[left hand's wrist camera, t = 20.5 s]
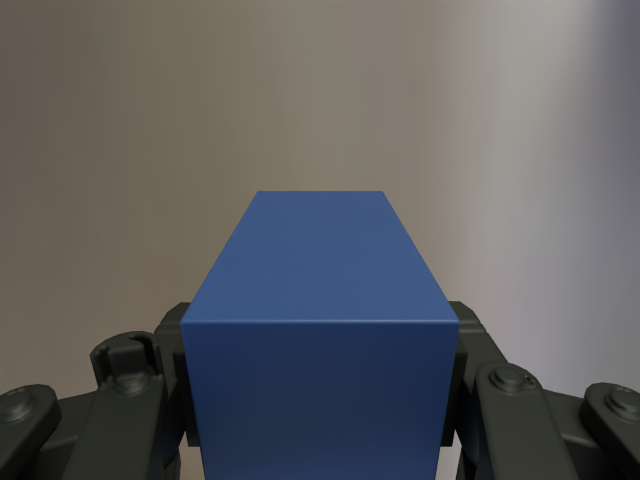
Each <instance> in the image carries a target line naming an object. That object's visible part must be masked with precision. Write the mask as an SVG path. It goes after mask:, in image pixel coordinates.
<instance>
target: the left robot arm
mask: <svg viewBox="0 0 640 480" xmlns="http://www.w3.org/2000/svg"><path fill="white" fill-rule="evenodd" d="M448 302H449V304H450V305H451V307H452V309H453V310H454V312H455V314H456V315H457V317H458V319H459V321H460V327H459V333H458V339H457V346H456V352H455V358H454V364H453V371H452V377H451V383H450V389H449V396H448V402H447V408H446V414H445V421H444V427H443V433H442V439H441V446H440V447H452V444H453V438H454V432H455V430H456V432H457V435H458V437H459V440H460V442H461V445H462V448H461V453H460V458H459V463H458V469H457V474H456V480H640V393H638V392H636V391H634V390H632V389H629V388H627V387H623V386H620V385H617V384H611V383H603V382H602V383H596V384H592V385H590V386H589V387H588V388H587V389H586V391H585V394H584V397H583V398H579V397H574V396H570V395H565V394H561V393H556V392H552V391H549V390H546V389H543V388H542V386H541V384H540V383H539V381H538V380H537V378H536V377H534V376H533V375H532V374H531V373H529V372H528V371H527V370H525V369H523V368H521V367H519V366H517V365H515V364H511V363H508V361H507V360H506V359H505V357H504V356H503V354H502V353H501V351H500V350H499V348H498V347H497V345H496V344H495V342H494V341H493V339H492V338H491V336H490V335H489V334H488V333H487V332H486V329H485V328H484V326H483V325H482V324H480V320H479V319H478V317H477V316H476V314H475V313H474V312H473V310H471V309H470V308H468V307H467V306H466V305H464V304H463V303H461V302H460V301H448ZM190 304H191V303H179V304H178V305H177V306H175V307H174V308H172V309H171V310H170V311H168V312H167V313H166V315H165V316H164V318H163V319H162V321H161V322H160V325H158V327H157V328H156V330H155V331H154V334H152V333H148V332H145V331H131V332H127V333H122V334H118V335H116V336H114V337H111V338H109V339H106V340H105V341H103V342H102V343H101V344H99V345H98V346H96V347H95V348H94V350H93V351H92V352H91V353H90V359H91V362H92V366H93V370H94V373H95V377H96V381H97V384H98V389H97V391H93V392H90V393H87V394H82V395H78V396H73V397H69V398H64V399H60V400H58V399H57V396H56V393H55V391H54V390H53V389H52V388H51V387H50V386H47V385H41V384H35V385H27V386H23V387H19V388H17V389H13V390H10V391H8V392H6V393H4V394H3V395H1V396H0V480H179V478H180V468H181V459H180V453H179V448H178V447H179V445H180V442H181V440H182V437H183V435H184V432H185V431H186V436H187V442H188V447H200V444H199V438H198V432H197V425H196V419H195V413H194V406H193V400H192V394H191V387H190V381H189V375H188V368H187V362H186V356H185V350H184V343H183V337H182V331H181V324H180V322H181V319H182V317H183V316H184V314H185V312H186V311H187V309H188V307H189V306H190Z"/></svg>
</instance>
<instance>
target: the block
mask: <svg viewBox="0 0 640 480" xmlns="http://www.w3.org/2000/svg"><path fill="white" fill-rule="evenodd" d="M180 324H181V331H182V337H183V343H184V350H185V356H186V362H187V368H188V375H189V381H190V387H191V394H192V400H193V406H194V413H195V419H196V425H197V432H198V438H199V444H200V451H201V457H202V463H203V469H204V476H205V480H435V477H436V471H437V464H438V458H439V452H440V446H441V439H442V433H443V427H444V421H445V414H446V408H447V402H448V396H449V389H450V383H451V377H452V371H453V364H454V358H455V352H456V346H457V339H458V333H459V327H460V321H459V319H458V317H457V315H456V314H455V312H454V310H453V309H452V307H451V305H450V304H449V302H448V300H447V299H446V297H445V295H444V294H443V292H442V290H441V288H440V287H439V285H438V283H437V282H436V280H435V278H434V277H433V275H432V273H431V272H430V270H429V268H428V267H427V265H426V263H425V262H424V260H423V258H422V257H421V255H420V253H419V252H418V250H417V248H416V247H415V245H414V243H413V242H412V240H411V238H410V237H409V235H408V233H407V231H406V230H405V228H404V226H403V225H402V223H401V221H400V220H399V218H398V216H397V215H396V213H395V211H394V210H393V208H392V206H391V205H390V203H389V201H388V200H387V198H386V196H385V195H384V193H383V192H382V191H258V192H257V193H256V195H255V197H254V199H253V200H252V202H251V204H250V205H249V207H248V209H247V210H246V212H245V214H244V215H243V217H242V219H241V220H240V222H239V224H238V225H237V227H236V229H235V230H234V232H233V234H232V235H231V237H230V239H229V240H228V242H227V244H226V245H225V247H224V249H223V250H222V252H221V254H220V255H219V257H218V259H217V260H216V262H215V264H214V266H213V267H212V269H211V271H210V272H209V274H208V276H207V277H206V279H205V281H204V282H203V284H202V286H201V287H200V289H199V291H198V292H197V294H196V296H195V297H194V299H193V301H192V302H191V304H190V306H189V307H188V309H187V311H186V312H185V314H184V316H183V317H182V319H181V322H180Z"/></svg>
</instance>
